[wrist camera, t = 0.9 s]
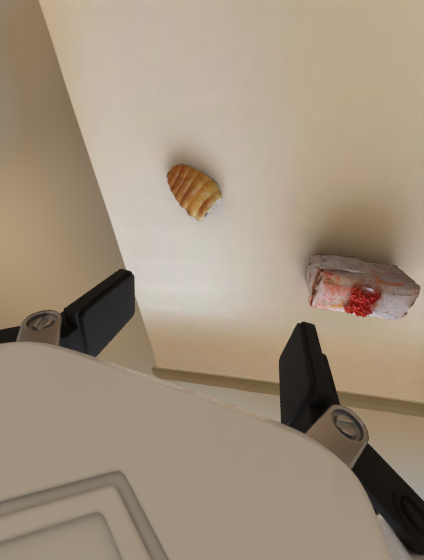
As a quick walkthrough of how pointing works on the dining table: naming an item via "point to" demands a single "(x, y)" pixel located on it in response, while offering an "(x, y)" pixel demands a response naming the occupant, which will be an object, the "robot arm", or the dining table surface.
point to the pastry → (193, 190)
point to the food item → (359, 287)
